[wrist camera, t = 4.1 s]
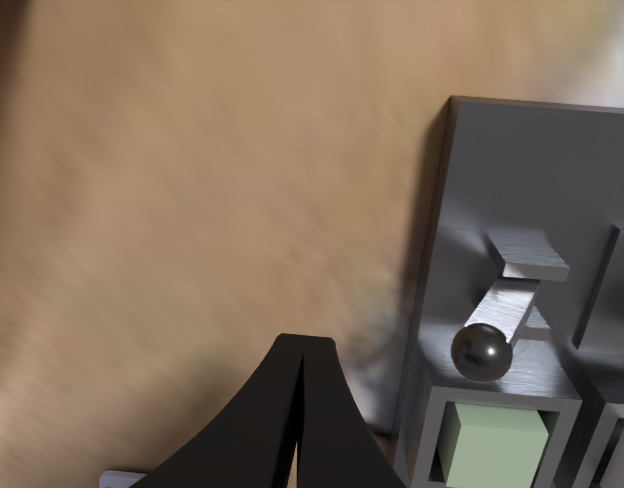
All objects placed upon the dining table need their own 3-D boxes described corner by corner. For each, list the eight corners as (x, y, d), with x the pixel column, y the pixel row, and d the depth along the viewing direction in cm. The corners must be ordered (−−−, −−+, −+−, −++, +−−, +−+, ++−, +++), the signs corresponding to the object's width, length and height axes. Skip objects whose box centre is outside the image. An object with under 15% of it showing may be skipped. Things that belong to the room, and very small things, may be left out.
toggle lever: (536, 317, 17) (496, 404, 12) (489, 301, 17) (437, 379, 13) (549, 276, 16) (511, 354, 12) (499, 262, 17) (448, 330, 13)
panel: (639, 505, 23) (683, 577, 20) (383, 479, 23) (388, 545, 20) (828, 123, 16) (943, 146, 13) (450, 95, 16) (474, 110, 13)
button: (510, 451, 20) (527, 494, 18) (436, 444, 20) (445, 486, 18) (528, 394, 18) (548, 434, 17) (450, 386, 19) (461, 425, 17)
